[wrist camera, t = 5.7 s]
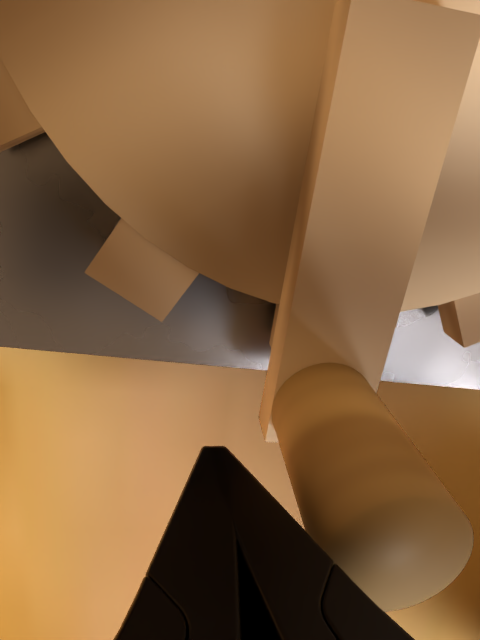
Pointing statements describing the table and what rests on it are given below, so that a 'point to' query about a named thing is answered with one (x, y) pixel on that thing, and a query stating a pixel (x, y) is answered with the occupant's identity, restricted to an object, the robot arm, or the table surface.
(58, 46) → the index wheel
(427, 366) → the base plate
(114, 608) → the table surface
